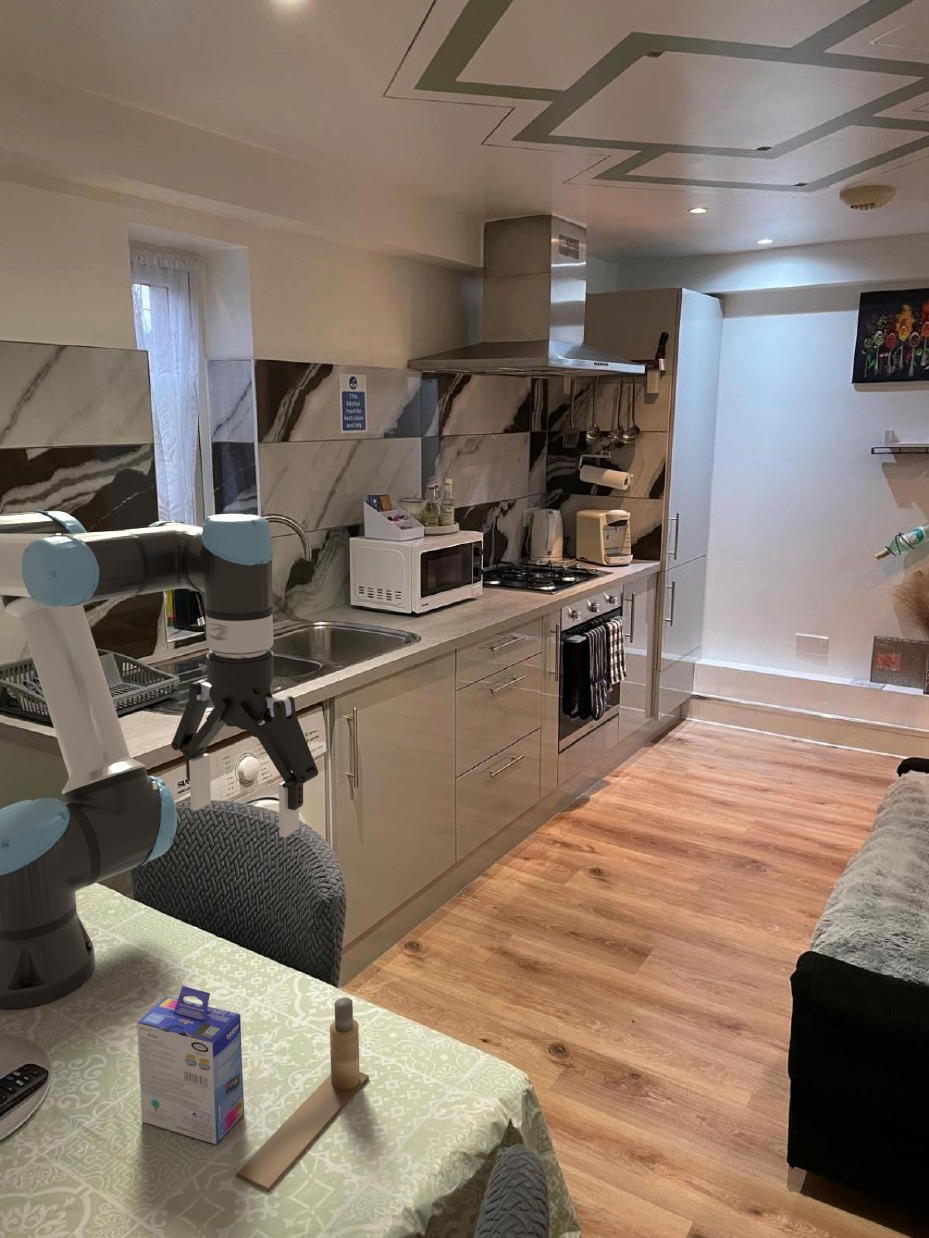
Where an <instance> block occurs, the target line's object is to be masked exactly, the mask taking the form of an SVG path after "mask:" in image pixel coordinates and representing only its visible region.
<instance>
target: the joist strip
mask: <svg viewBox="0 0 929 1238" xmlns="http://www.w3.org/2000/svg"><path fill="white" fill-rule="evenodd" d="M359 1074H360V1081H359V1084H358V1085H357V1087H355V1088H354V1089H352V1090H349V1091H339V1090H336V1089H335V1088H334V1087H333V1086H332V1084H331V1073H330V1074H329V1075H328V1076H327V1077H326V1078H325V1079H324V1080H323V1081H322V1083H320V1085H319V1086H318V1087H317V1088H316V1089H315V1090H314V1091H313V1092H312V1093H311V1094H310V1095H309V1097H307V1098H306V1099H305V1100H304V1101H303V1102H302V1103H301V1104H300V1105H299V1106H298V1108H297V1109H296V1110H295V1111H294V1112H293V1113H292V1114H291V1115H290V1116H289V1117H288V1118H287V1120H285V1121H284V1122H283V1123H282V1124H281V1126H280V1127H278V1129H277V1130H276V1131H275V1132H274V1133H273V1134H272V1135H271V1136H270V1137H269V1138H268V1139H267V1140H266V1142H265V1143H264V1144H262V1145H261V1147H259V1148H258V1150H257V1151H256V1152H255V1153H254V1154H253V1155H252V1156H251V1157H250V1158H249V1159H248V1160H247V1161H246V1162H245V1163H244V1164H243V1166H242V1167H241V1168H240V1169H239V1170H238V1171H237V1172H236V1177H237V1178H239V1179H241V1180H243V1181H246V1182H247V1183H250V1184H251V1185H254V1186H256V1187H259V1188H260V1189H262V1190H264V1191H267V1192H269V1191H271V1190H272V1189H273V1187H274V1186H275V1185H276V1184H277V1183H278V1181H279V1180H280V1179H281V1178H283V1176H284V1175H285V1173H287V1172H288V1170H290V1168H291V1167H292V1165H294V1163H295V1162H296V1161H297V1160H298V1159H299V1158H300V1157H301V1156H302V1155H303V1154H304V1152H305V1151H306V1150H307V1148H309V1147H310V1146H311V1144H312V1143H313V1142H314V1141H315V1140H316V1139H317V1138H318V1136H320V1134H321V1133H322V1132H323V1131H324V1130H325V1129H326V1128H327V1126H328V1125H330V1123H331V1122H332V1121H333V1119H334V1118H335V1117H336V1116H337V1115H338V1114H339V1113H340V1112H341V1110H342V1109H343V1108H344V1107H345V1106H346V1105H347V1104H348V1103H349V1101H350V1100H351V1099H352V1098H353V1097H354V1096H355V1095H356V1093H357V1092H359V1090H360V1089H361V1088H362V1087H363V1086H364V1084H366V1082H367V1081H368V1080H369V1078H370V1075H369V1074H366V1073H363V1072H361V1071H359ZM338 1112H339V1113H338Z"/></svg>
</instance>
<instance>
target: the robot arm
mask: <svg viewBox="0 0 929 1238" xmlns="http://www.w3.org/2000/svg"><path fill="white" fill-rule="evenodd" d="M203 520H204V521H203V523H202V526H199V525H193V524H190V523H185V522H184V521H179V520H175V521H167V520H161V521H155V522H152V523H151V524H149V525H148V526H146V527H141V528H139V527H138V528H131V529H129V528H128V529H121V530H113V531H98V532H97V531H96V532H87V530H86V529H85V527H84V525H82V523H81V522H80V521H79V520H78V519H76V517H73V516H71V515H70V514H69V513H68V512H63V511H59V510H58V511H57V510H50V511H49V510H47V511H44V510H38V509H36V510H31V511H27V512H25V511H23V512H16V513H15V512H14V513H13V512H12V513H0V599H1V601H2V603H3V607H4V610H5V612H6V614H8V615H10V616H13V617H15V618H16V619H18V620H20V622H21V626H22V629H23V633H24V636H25V638H26V641H27V645H28V649H29V653H30V655H31V658H32V661H33V664H34V668H35V671H36V673H37V678H38V680H39V685H40V687H41V691H42V693H43V696H44V700H45V703H46V706H47V710H48V713H49V716H50V719H51V723H52V725H53V729H54V732H55V735H56V738H57V742H58V745H59V748H60V752H61V755H62V757H63V761H64V765H65V768H66V772H67V774H68V779H67V780H68V781H66V784H65V786H64V787H63V789H62V790H61V794H62V798H63V801H62V800H60V799H58V798H54V797H38V798H36V799H33V800H31V799H25V800H21V801H18V802H15V803H12V804H9V805H7V806H5V807H3V808H1V809H0V1009H5V1010H6V1009H9V1010H10V1009H12V1010H13V1009H23V1008H30V1007H35V1006H39V1005H42V1004H46V1003H49V1002H52V1001H55V1000H58V999H60V998H62V997H64V996H66V995H68V994H70V993H71V992H72V991H74V990H76V989H78V988H79V987H80V986H81V985H83V984H84V983H85V982H86V981H87V980H88V979H89V978H90V977H91V975H92V974H93V972H94V970H95V966H96V957H95V947H94V944H93V941H92V940H91V937H90V936H89V934H88V932H87V929H86V928H85V927H84V926H85V925H84V924H83V922H82V920H81V918H80V916H79V914H78V910H77V900H76V899H77V898H76V896H77V895H76V893H77V891H79V890H81V889H84V888H86V887H89V886H92V885H94V884H97V883H99V882H101V881H104V880H106V879H109V878H111V877H114V876H117V875H120V874H122V873H124V872H126V871H127V872H128V871H129V870H131V869H135V868H138V867H142V866H145V865H146V864H147V863H148V862H151V861H153V860H155V859H156V858H159V857H162V856H163V855H164V854H165V853H166V852H167V851H168V850H169V849H170V847H171V846H172V844H173V841H174V838H175V834H176V832H177V828H178V827H177V824H178V823H177V822H178V818H177V817H178V815H177V808H176V802H175V799H174V795H173V793H172V791H171V789H170V787H169V786H166V782H165V781H164V780H163V779H162V778H160V777H157V776H153V775H148V771H147V768H146V765H145V764H144V763H142V762H140V761H138V760H136V759H133V758H132V756H131V753H130V751H129V748H128V745H127V742H126V739H125V735H124V732H123V729H122V726H121V723H120V720H119V717H118V713H117V710H116V707H115V702H114V701H113V697H112V694H111V691H110V687H109V685H108V682H107V678H106V676H105V672H104V669H103V666H102V662H101V659H100V656H99V653H98V650H97V647H96V643H95V640H94V637H93V634H92V630H91V627H90V625H89V620H88V618H87V615H86V612H85V608H84V605H83V604H87V603H92V602H99V601H104V600H110V599H117V598H122V597H123V598H124V597H133V596H139V595H147V594H153V593H158V592H164V591H172V590H178V589H187V590H191V591H196V592H199V593H203V594H204V602H205V603H204V605H205V606H204V607H205V608H204V613H205V633H206V636H205V639H206V647H207V649H209V651H208V652H207V654H206V675H207V677H205V678H203V679H200V680H197V681H195V682H191V683H190V684H189V689H188V701H187V704H186V706H185V709H184V711H183V714H182V716H181V719H180V721H179V724H178V726H177V728H176V731H175V734H174V737H173V738H172V740H171V746H170V747H171V748H172V749H173V751H179V752H181V753H182V756H183V757H184V758H185V773H186V780H187V782H189V791H190V792H189V793H190V810H191V811H193V812H197V811H199V810H201V809H202V808H204V807H206V806H209V805H210V804H212V795H211V794H212V793H211V792H212V791H211V762H210V753H206V752H205V751H207V750H208V748H207V747H209V745H210V744H211V742H213V740H214V738H215V737H216V736H217V735H218V734H219V732H220V731H221V729H223V727H224V726H226V727H231V728H233V727H237V728H238V729H240V730H243V731H248V732H249V733H250V735H252V737H254V738H257V739H258V742H260V744H261V746H262V748H263V750H264V751H265V752H266V754H267V755H268V757H269V759H270V761H271V762H272V764H273V766H274V767H275V769H276V770H277V772H278V773H279V775H280V777H281V778H282V780H283V781H282V782H279V783H278V823H279V824H278V825H279V826H278V828H279V830H278V832H279V833H278V834H279V835H278V836H279V837H281V838H287V837H288V836H289V835H291V834H293V833H294V832H295V831H298V830H299V829H300V823H299V822H300V820H299V819H300V816H299V815H300V811H299V810H300V808H301V807H302V806H303V804H304V784H305V783H306V782H309V781H310V780H312V779H315V778H316V777H317V776H318V775H319V770H318V767H317V765H316V762H315V760H314V757H313V754H312V752H311V750H310V747H309V744H308V742H307V740H306V737H305V735H304V734H305V733H304V732H303V728H302V727H301V723H300V721H299V719H298V716H297V712H296V711H297V710H296V702H295V699H294V697H293V696H292V695H287V696H285V697H274V696H273V694H272V690H271V685H272V682H273V679H274V677H275V676H274V671H275V670H274V652H273V651H272V650H271V648H272V647H273V646H274V621H273V620H274V619H273V616H274V615H273V614H274V613H273V558H274V550H273V547H272V546H273V545H272V536H271V535H272V534H271V532H272V531H271V525H270V523H269V521H268V520H267V518H265V517H263V516H260V515H257V514H243V513H222V514H221V513H220V514H214V515H209V516H207V517H206V518H205V519H203ZM210 700H211V702H212V704H213V705H214V708H213V709H212V710H211V711H210V713H209V714H208V715H207V717H206V718H205V720H206V721H205V722H204V723H203V724H202V725H201V722H202V720H203V718H204V715H205V713H206V711H207V707H208V706H209V703H210ZM263 722H264V724H262V723H263ZM200 725H201V726H200ZM203 752H205V753H203Z"/></svg>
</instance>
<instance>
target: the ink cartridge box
mask: <svg viewBox="0 0 929 1238" xmlns="http://www.w3.org/2000/svg"><path fill="white" fill-rule="evenodd" d="M210 996H211V993H210V992H207V991H203V990H200V989H195V988H191V987H187V986H185V985H184V986H181V989H180V992H179V995H178V998H174V997H170V996H166V997H165V998H163V999H162V1000H161V1001H159V1003H157V1004H156V1005H155V1006H154V1007H153V1008H151V1009H150V1010H149V1011H148V1012H147V1013H146V1014H145V1015H143V1016H142V1017H141V1018H140V1019H139V1020H138V1021H137V1022H136V1036H137V1048H138V1049H137V1052H138V1053H137V1054H138V1070H139V1088H140V1092H139V1093H140V1109H141V1111H140V1112H141V1113H140V1114H141V1122H142V1123H145V1124H148V1125H151V1126H154V1127H158V1128H162V1129H164V1130H169V1131H171V1132H174V1133H178V1134H181V1135H184V1136H188V1137H191V1138H194V1139H197V1140H201V1141H203V1142H207V1143H211V1144H213V1145H217V1144H218V1143H219V1142H220V1141H221V1140H222V1139H223V1138H224V1136H225V1135H226V1134H227V1133H228V1132H229V1131H230V1130H231V1129H232V1128H233V1127H234V1126H235V1125H236V1123H237V1122H239V1121H240V1119H241V1118H242V1117H243V1116H244V1114H245V1102H244V1101H245V1098H244V1081H243V1077H244V1076H243V1075H244V1074H243V1051H242V1049H243V1047H242V1031H241V1030H242V1029H241V1026H242V1024H241V1019H242V1018H241V1013H239V1012H235V1011H230V1010H225V1009H221V1008H217V1007H212V1006H210V1005H209V1000H210ZM186 997H195V998H196V999H198V1000H199V1001H201V1002H202V1004H199V1003H197V1002H196V1003H194V1002H190V1001H188V1000H187V1001H186V1000H184V998H186Z"/></svg>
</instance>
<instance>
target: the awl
mask: <svg viewBox="0 0 929 1238" xmlns="http://www.w3.org/2000/svg"><path fill="white" fill-rule="evenodd" d="M353 1003H354V1002H353V1000H352V999H351V998H349V997H340V998H337V999H336V1000H335V1001H334V1021H332V1022H331V1024H330V1025H329V1044H330V1045H329V1048H330V1051H329V1052H330V1053H329V1054H330V1074H331V1084H332V1086H333V1087H334V1088H335V1089H336V1090H339V1091H349V1090H352V1089H354V1088H355V1087H357V1085H358V1084H359V1081H360V1074H359V1072H360V1037H359V1036H360V1035H359V1033H360V1032H359V1027H360V1026H359V1023H358V1021H357V1020H356V1019H354V1012H353V1011H354V1010H353V1009H354V1008H353V1007H354V1004H353Z"/></svg>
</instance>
